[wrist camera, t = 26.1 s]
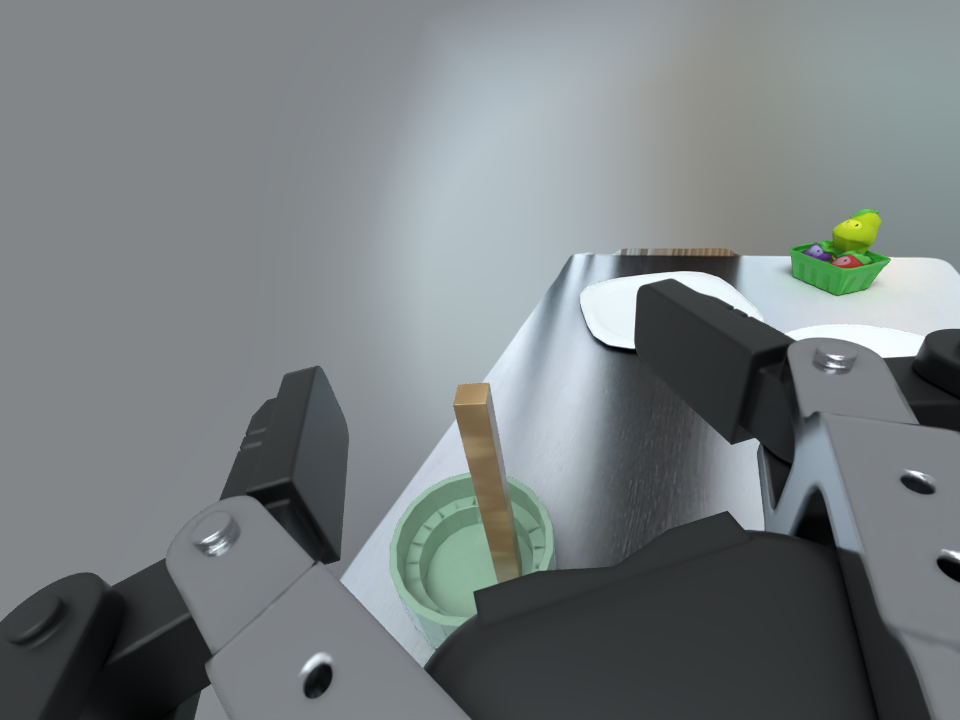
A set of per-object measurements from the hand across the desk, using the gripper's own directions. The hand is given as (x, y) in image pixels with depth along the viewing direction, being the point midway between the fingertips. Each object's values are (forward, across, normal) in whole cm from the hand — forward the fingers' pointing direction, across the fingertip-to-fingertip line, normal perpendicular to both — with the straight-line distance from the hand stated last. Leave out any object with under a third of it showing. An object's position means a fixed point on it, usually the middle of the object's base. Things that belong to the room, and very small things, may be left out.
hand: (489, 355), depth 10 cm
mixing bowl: (+12, +2, +30) cm, 32 cm away
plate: (+46, -37, +30) cm, 66 cm away
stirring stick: (+11, 0, +29) cm, 31 cm away
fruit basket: (+42, -65, +30) cm, 83 cm away
